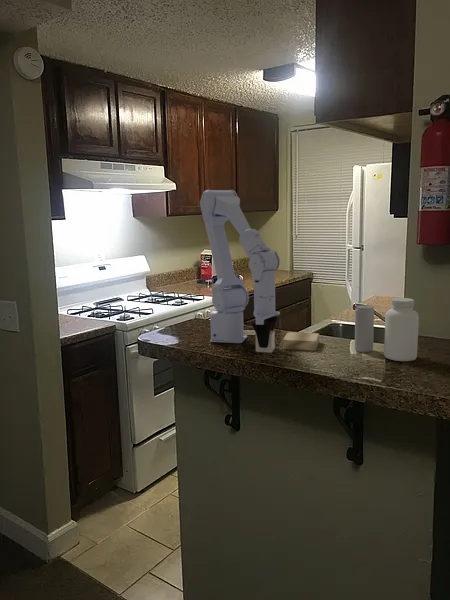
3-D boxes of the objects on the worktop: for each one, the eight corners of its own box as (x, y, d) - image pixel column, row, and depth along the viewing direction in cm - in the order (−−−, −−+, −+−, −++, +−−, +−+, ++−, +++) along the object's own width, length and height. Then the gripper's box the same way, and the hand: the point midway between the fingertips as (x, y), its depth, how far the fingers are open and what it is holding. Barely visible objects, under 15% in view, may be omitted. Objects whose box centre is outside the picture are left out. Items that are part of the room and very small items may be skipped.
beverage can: (369, 354, 132) (370, 308, 130) (351, 351, 135) (352, 307, 133) (375, 349, 136) (377, 305, 134) (358, 347, 139) (359, 304, 137)
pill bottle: (423, 360, 125) (426, 301, 123) (393, 363, 124) (395, 302, 122) (407, 352, 133) (409, 295, 131) (378, 354, 132) (379, 297, 129)
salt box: (255, 351, 138) (255, 332, 137) (259, 347, 142) (258, 329, 141) (271, 352, 136) (271, 333, 135) (274, 348, 140) (274, 329, 140)
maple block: (282, 350, 140) (282, 339, 139) (287, 342, 148) (287, 332, 148) (315, 352, 137) (315, 341, 137) (319, 343, 146) (319, 333, 145)
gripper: (274, 300, 128) (275, 352, 131) (283, 291, 142) (284, 339, 145) (247, 300, 130) (248, 351, 133) (259, 291, 144) (259, 338, 146)
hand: (265, 344), depth 139 cm, fingers closed on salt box, 4 cm apart
